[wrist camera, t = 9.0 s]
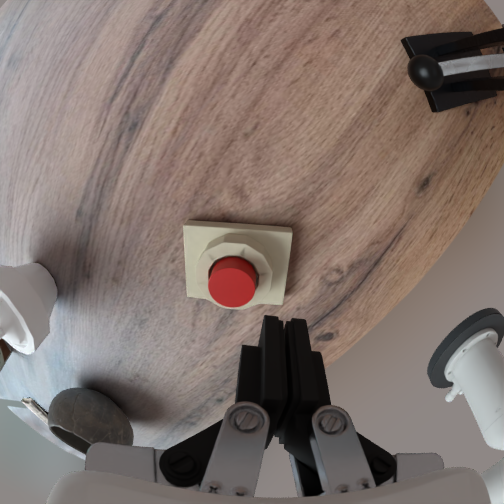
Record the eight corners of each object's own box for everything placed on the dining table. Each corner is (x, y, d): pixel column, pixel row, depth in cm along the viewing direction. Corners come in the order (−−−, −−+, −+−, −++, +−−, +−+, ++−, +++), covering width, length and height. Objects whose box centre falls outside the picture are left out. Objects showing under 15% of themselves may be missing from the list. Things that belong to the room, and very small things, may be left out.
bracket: (432, 112, 20) (526, 119, 8) (400, 40, 17) (480, 3, 5) (491, 95, 17) (570, 103, 5) (465, 33, 14) (540, 17, 3)
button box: (291, 227, 26) (295, 241, 22) (282, 297, 29) (283, 317, 26) (187, 219, 26) (176, 233, 23) (190, 289, 29) (182, 308, 26)
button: (257, 258, 24) (256, 269, 22) (254, 296, 25) (253, 309, 24) (211, 254, 24) (207, 265, 22) (212, 292, 26) (208, 305, 24)
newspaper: (81, 439, 59) (79, 445, 57) (66, 433, 63) (64, 438, 61) (31, 398, 51) (28, 403, 49) (21, 394, 55) (18, 399, 53)
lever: (415, 93, 16) (417, 95, 14) (401, 60, 15) (401, 57, 13) (533, 76, 8) (548, 77, 6) (521, 42, 6) (534, 40, 4)
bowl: (136, 392, 39) (114, 450, 28) (145, 431, 47) (132, 477, 36) (56, 359, 39) (27, 406, 27) (78, 405, 46) (59, 445, 35)
